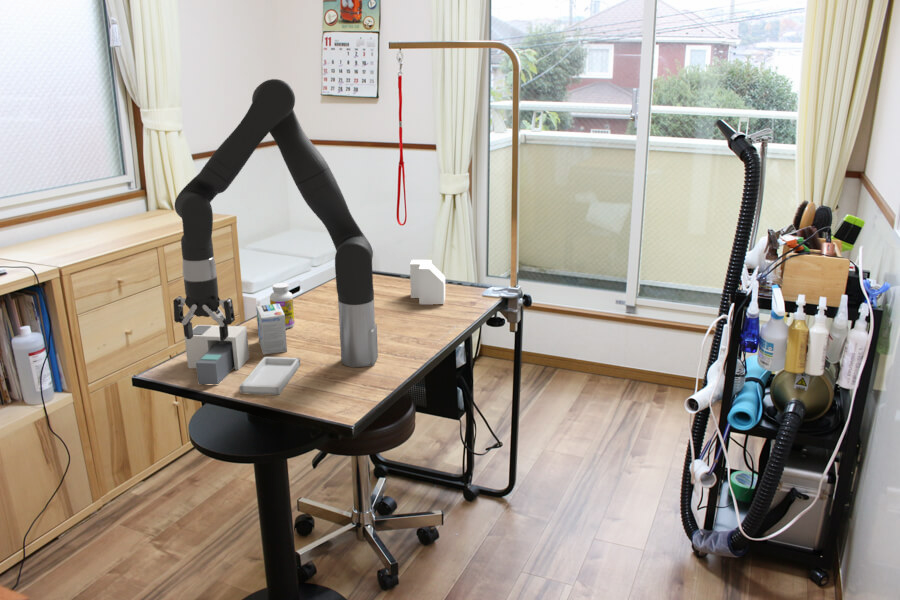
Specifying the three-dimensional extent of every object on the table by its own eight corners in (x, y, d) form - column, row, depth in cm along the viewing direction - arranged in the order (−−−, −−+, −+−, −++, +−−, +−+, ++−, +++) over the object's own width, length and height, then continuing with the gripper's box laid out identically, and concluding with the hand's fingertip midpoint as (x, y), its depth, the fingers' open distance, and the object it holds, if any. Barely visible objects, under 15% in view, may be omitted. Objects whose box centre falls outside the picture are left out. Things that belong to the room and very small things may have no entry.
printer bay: (249, 357, 200) (246, 325, 197) (238, 369, 192) (235, 336, 189) (200, 356, 201) (197, 324, 198) (188, 367, 193) (184, 334, 190)
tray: (300, 364, 195) (299, 357, 194) (279, 395, 178) (278, 387, 177) (265, 363, 196) (264, 356, 195) (240, 393, 179) (239, 385, 178)
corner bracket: (412, 293, 252) (411, 259, 248) (445, 294, 251) (445, 260, 247) (409, 304, 242) (408, 268, 238) (443, 304, 241) (443, 269, 237)
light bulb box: (258, 341, 211) (255, 305, 208) (282, 338, 213) (279, 302, 210) (263, 355, 201) (259, 317, 198) (288, 351, 204) (285, 314, 200)
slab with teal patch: (237, 364, 196) (234, 343, 194) (218, 386, 183) (215, 362, 181) (218, 364, 196) (216, 342, 194) (198, 385, 184) (195, 362, 182)
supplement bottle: (274, 331, 218) (271, 289, 214) (270, 324, 224) (266, 283, 220) (297, 327, 221) (294, 286, 217) (292, 320, 227) (289, 280, 223)
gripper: (234, 272, 180) (240, 334, 185) (178, 270, 181) (185, 332, 187) (222, 281, 173) (228, 345, 178) (164, 279, 174) (171, 343, 180)
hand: (206, 338), depth 182 cm, fingers open, 8 cm apart
